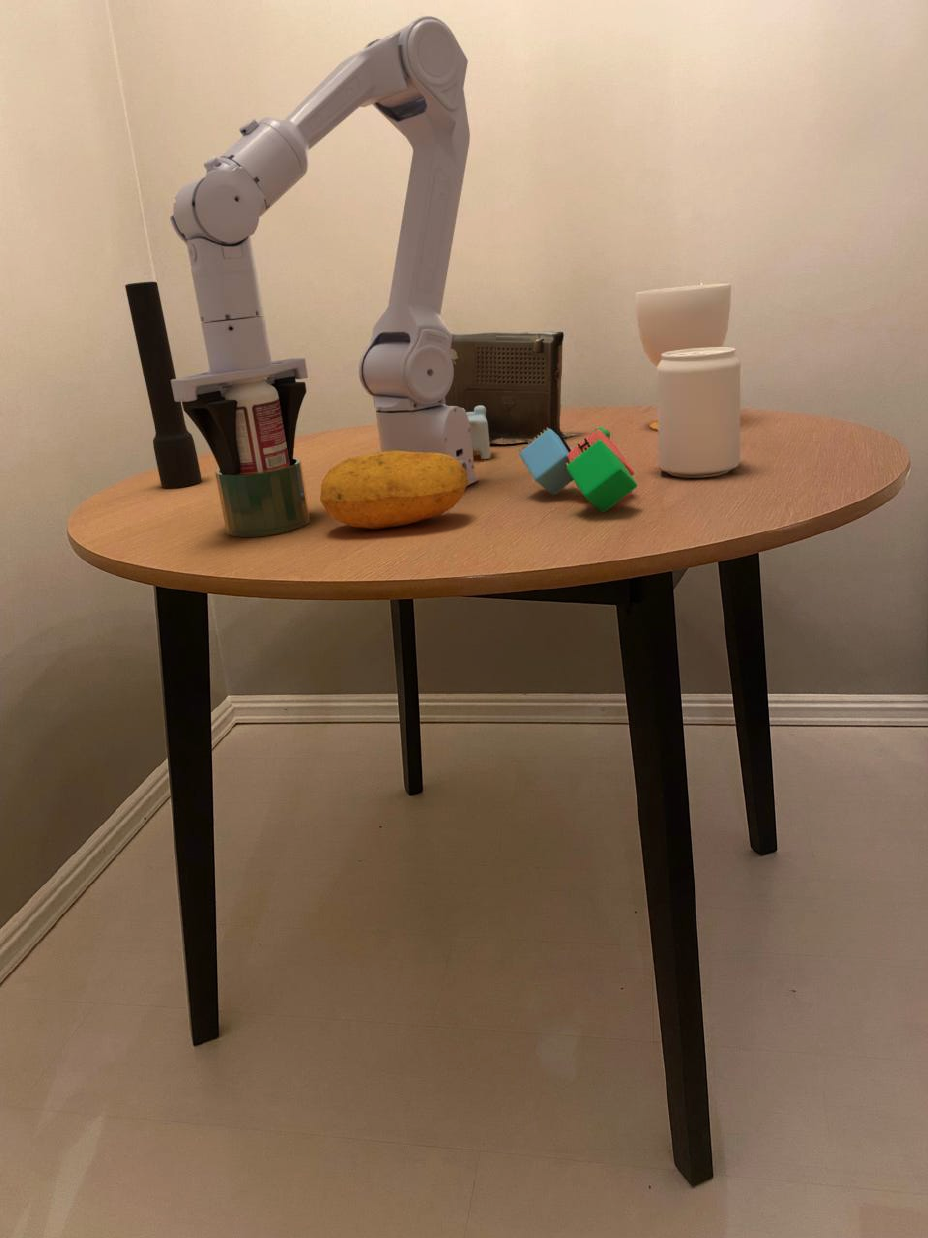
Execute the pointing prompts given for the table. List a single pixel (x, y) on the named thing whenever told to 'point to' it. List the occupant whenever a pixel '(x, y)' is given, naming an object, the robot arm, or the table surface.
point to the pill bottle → (258, 426)
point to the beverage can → (699, 411)
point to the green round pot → (264, 501)
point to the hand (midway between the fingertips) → (258, 465)
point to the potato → (392, 488)
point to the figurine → (479, 431)
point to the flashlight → (162, 389)
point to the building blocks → (580, 466)
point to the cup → (682, 319)
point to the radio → (509, 382)
